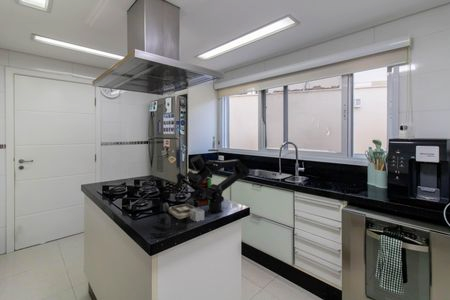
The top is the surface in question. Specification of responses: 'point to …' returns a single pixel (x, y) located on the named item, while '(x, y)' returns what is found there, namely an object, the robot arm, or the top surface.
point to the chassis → (179, 209)
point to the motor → (205, 186)
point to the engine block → (197, 214)
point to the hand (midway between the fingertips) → (179, 196)
